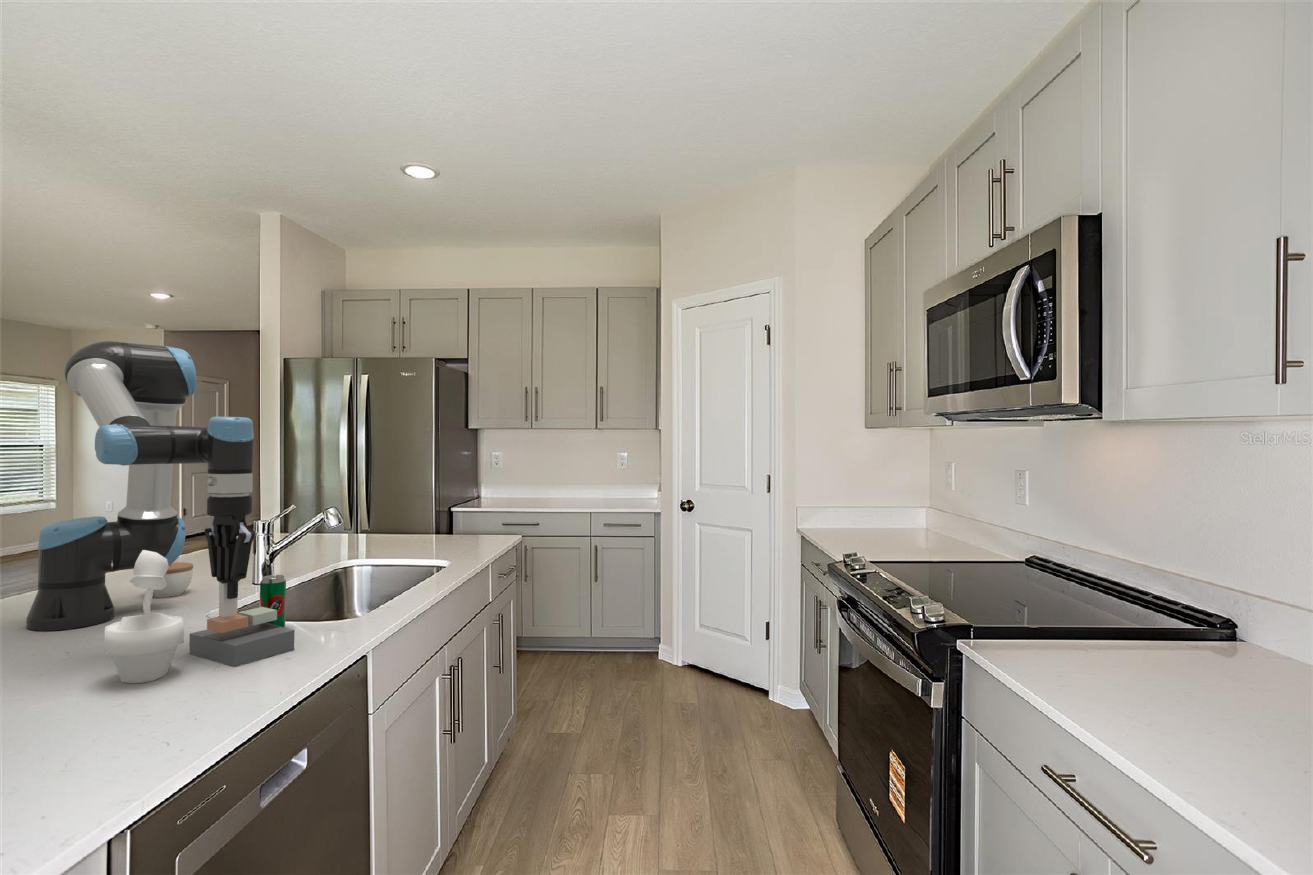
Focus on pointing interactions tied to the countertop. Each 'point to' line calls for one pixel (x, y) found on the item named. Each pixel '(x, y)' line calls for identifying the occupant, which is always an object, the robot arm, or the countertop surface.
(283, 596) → the soda can
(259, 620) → the sage key
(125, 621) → the white floating cup sculpture
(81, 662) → the countertop surface
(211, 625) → the rust key
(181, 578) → the lidded jar
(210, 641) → the button panel
